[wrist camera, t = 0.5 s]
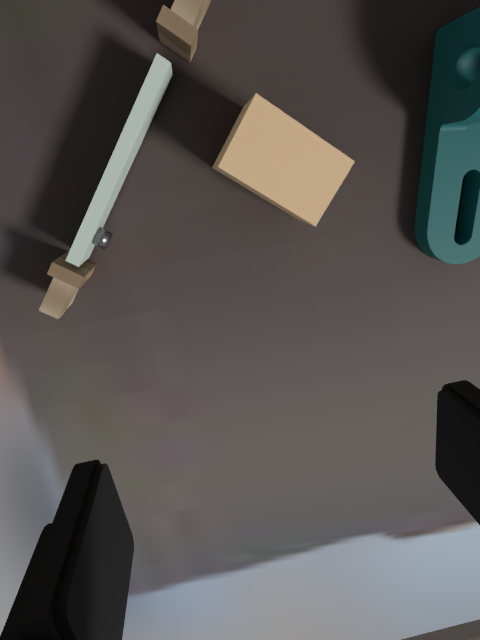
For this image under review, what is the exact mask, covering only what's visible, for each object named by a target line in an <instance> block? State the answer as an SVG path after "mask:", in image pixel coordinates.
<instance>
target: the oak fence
mask: <svg viewBox="0 0 480 640" xmlns="http://www.w3.org/2000/svg"><path fill="white" fill-rule="evenodd" d="M210 2H211V0H174V3H173V5H172V7H171V10H170V9H169V8H167V7H166V6H165V5H163V6H162V8H161V11H160V13H159V15H158V18H157V20H156V24H157V29H158V34H159V40H160V42H161V43H162V44H164V45H165V46H166V47H168V48H169V49H171V50H172V51H174V52H175V53H177V54H178V55H180V56H181V57H183V58H184V59H186V60H187V61H189V62H191V60H192V58H193V55H194V53H195V51H196V49H197V38H198V29H199V26H200V24H201V22H202V20H203V18H204V16H205V13H206V11H207V9H208V7H209V5H210ZM68 253H69V251H68V252H66V253H65V254H63V255H62V256H60V257H59V258H57V259H56V260H54V261H53V262H52V263H51V266H50V268H49V270H48V273H47V274H48V275H50V276H52V277H53V279H52V282H51V284H50V286H49V288H48V291H47V293H46V295H45V298H44V300H43V302H42V305H41V307H40V309H39V311H41V312H43V313H46V314H48V315H50V316H53V317H55V318H57V319H59V318H60V317H61V316H62V314H63V313H64V312H65V311H66V310H67V309H68V307H69V306H70V305H71V304H72V303H73V300H74V298H75V296H76V294H77V292H78V290H79V288H80V287H81V286H82V285H83V284H84V283H85V282H86V281H87V280H88V278H89V277H90V276H91V275H92V273H93V271H94V269H95V266H96V264H94V263H91V262H89V261H87V260H86V261H85V262H84V263H83V264H81V265H80V266H79V267H77V266H75V265H73V264H71V263H69V262H67V261H65V260H66V258H67V256H68Z"/></svg>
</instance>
